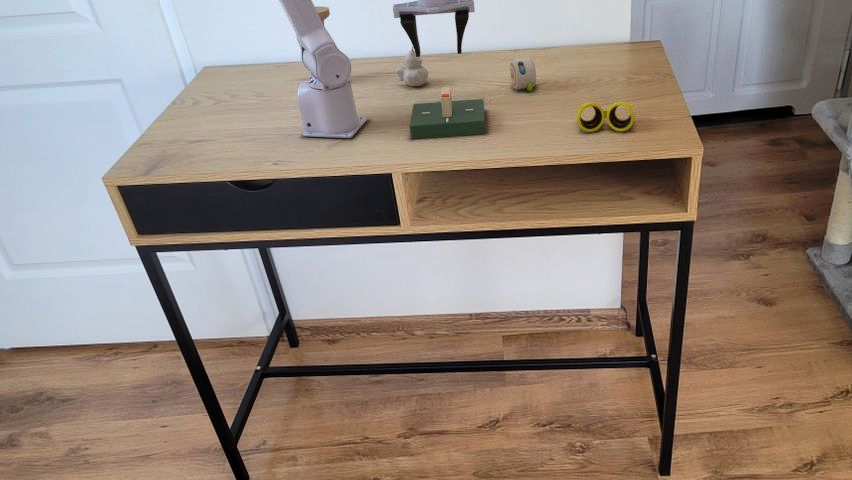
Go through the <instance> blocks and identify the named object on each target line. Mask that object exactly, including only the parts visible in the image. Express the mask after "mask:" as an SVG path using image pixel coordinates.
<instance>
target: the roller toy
mask: <svg viewBox="0 0 852 480" xmlns="http://www.w3.org/2000/svg"><path fill="white" fill-rule="evenodd" d="M509 75H510V81H511V84H512V86H513V88H514V89H515V90H517V91H519V90H525V89H526V90H527V91H528V92H531V91H532V90H533V88H534V87H535V86H536V84H537V71H536V65H535V63H534V61H533V59H532V58H531V57H521V58H520V57H519V58H515V59H512V60H511V61H510V64H509Z"/></svg>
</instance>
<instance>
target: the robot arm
mask: <svg viewBox="0 0 852 480" xmlns="http://www.w3.org/2000/svg"><path fill="white" fill-rule="evenodd" d="M278 2H279V4H280V5H281V8H282V9H283V11H284V13H285V16H286V18H287V20H288V21H289V23H290V25H291V27H292V29H293V31H294V33H295V36H296V37H295V38H296V41H297V43H298V46H299V47H300V58H301V59H300V60H301V62H302V65H303V66H304V67H305V68H306V70H308V71H309V72H310V74H309V77H308V80H304V81H302V82H301V83H300V84H299V86H298V88H297V97H296V98H297V105H298V110H299V114H300V118H301V119H300V120H301V123H302V127H303V131H304V132H303V133H302V136H303V137H316V138H338V139H343V138H344V139H351V138H353V137H354V136H355V134H357V132H358V131H359V130H360V129H361V128H362V127H363V126H364V124H365V123H366V122H367V118H366V117H358V114H357V108H356V102H355V97H354V91H353V86H352V80H351V74H352V63H351V60H350V58H349V57H348V56H347V54H346V53H344V52H343V51H341V50H340V48H339V47H338V46H337V44H336V42H335V40H334V38H333V37H332V36H331V34H330V32H329V31H328V30H327V28H326V27H324V26H325V24H324V25H323V23H322V21H321V19H320V17H319V15H318V13H317V10H316V8H315V7H316V5H315V4H314V2H313V1H312V0H278ZM475 10H476V9H475V0H413V1H408V2H404V3H393V5H392V14H393V18H394V19H399V20H400V21H399V23H400V25H401V27H402V29H403V30H404V32H405V33H406V35H407V37H408V38H409V40H410V43H411V45H412V47H413V49H414V51H415V53H416V57H420V58H421V44H420V40H419V36H418V35H419V34H418V26H417V16H427V15H428V16H429V15H437V14H438V15H440V14H453V13H454V22H455V30H456V31H455V32H456V51H457V54H458V55H460V54H463V53H462V51H463V50H462V45H463V38H464V33H465V31H466V27H467V24H468V21H469V19H470V15H469V14H470V13H475Z"/></svg>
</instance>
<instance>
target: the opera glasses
mask: <svg viewBox="0 0 852 480" xmlns="http://www.w3.org/2000/svg"><path fill="white" fill-rule="evenodd" d="M619 106H620V107H623V108H626V109H627V110H628V112H629V113H630V114H629V116H628V117H627V118H626V119H620V118H619V117H618V116H617V113H616V111H617V109H618V108H619ZM589 107H591V108H593V110H594V115H593V117H592V118H591V119H588V120H585V119H583V118H582V114H583V112H584V111H585V110H586V109H588V108H589ZM635 117H636V115H635V112H634V109H633V106H632V105H631V104H630V103H628V102H626V101H617V102H614V103H612V104H611V105H610V106H609V107H608V109H607V110H606V109H603V106H601V105H600V104H599V103H596V102H586V103H583V104H581V105H580V106H579V107H578V109H577V116H576V122H577V125H578V127H579V128H580V129H581V130H582V131H584V132H587V133H593V132H596V131H598V130H599V129H600V128H601V127H602V126H603V125H604V122H605V119H606V122H607V124H608V125H609V127H610V128H611V129H612V130H614V131H616V132H625V131H628V130H630V129H631V128H632V126H633V125H634V122H635Z"/></svg>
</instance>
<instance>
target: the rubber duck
mask: <svg viewBox="0 0 852 480" xmlns="http://www.w3.org/2000/svg"><path fill="white" fill-rule="evenodd" d="M423 61H424V60H423V59H422V58H421V56H420V57H416V53H415V50H414V47H413V46H412V47H411V49H410V50H409V52H408V53H407V54H406V55H405V57H404V60H403V64H404V66H405V67H403V66H398V67H396V68H395V69H394V72H395V75H396V80H397V81H399V82H405V83H406V84H407V85H408V86H410V87H420V86H422V85H424V84H425V83H426V82H427V80H428V78H429V71H428V69H427V68H425V66H423V65H422V64H423Z"/></svg>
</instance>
